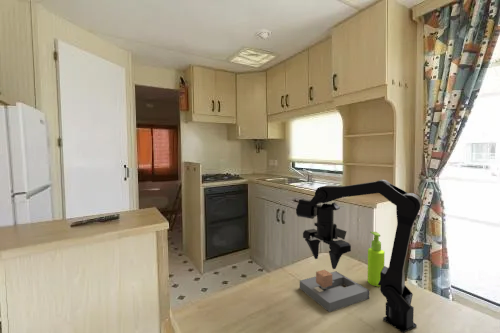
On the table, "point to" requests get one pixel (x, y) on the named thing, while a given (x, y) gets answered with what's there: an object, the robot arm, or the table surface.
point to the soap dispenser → (375, 260)
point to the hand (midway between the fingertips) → (324, 263)
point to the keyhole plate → (335, 292)
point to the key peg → (324, 279)
